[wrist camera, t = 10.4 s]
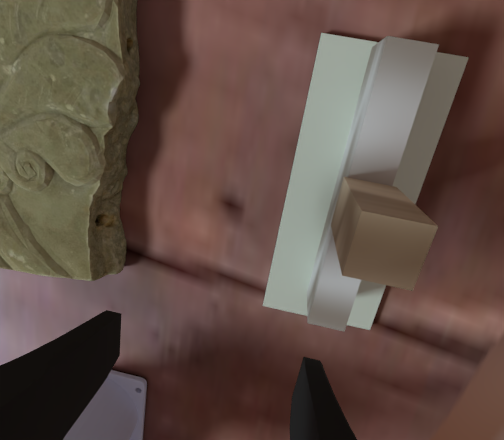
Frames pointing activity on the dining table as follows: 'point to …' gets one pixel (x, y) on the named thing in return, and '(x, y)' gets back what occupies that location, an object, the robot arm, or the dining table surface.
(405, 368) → the dining table surface
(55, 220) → the decorative tile
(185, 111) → the dining table surface
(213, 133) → the dining table surface
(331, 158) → the mat
